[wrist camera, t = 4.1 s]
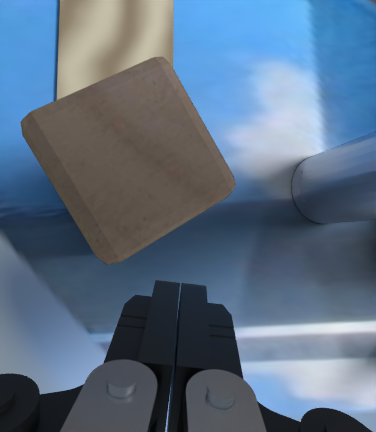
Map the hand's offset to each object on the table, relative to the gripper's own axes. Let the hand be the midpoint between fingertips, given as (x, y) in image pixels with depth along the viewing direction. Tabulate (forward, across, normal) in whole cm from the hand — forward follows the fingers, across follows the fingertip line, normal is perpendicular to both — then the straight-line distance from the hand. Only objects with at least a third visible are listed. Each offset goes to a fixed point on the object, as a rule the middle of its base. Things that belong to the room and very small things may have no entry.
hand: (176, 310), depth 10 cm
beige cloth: (+35, +10, -10) cm, 38 cm away
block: (+29, +8, +4) cm, 31 cm away
